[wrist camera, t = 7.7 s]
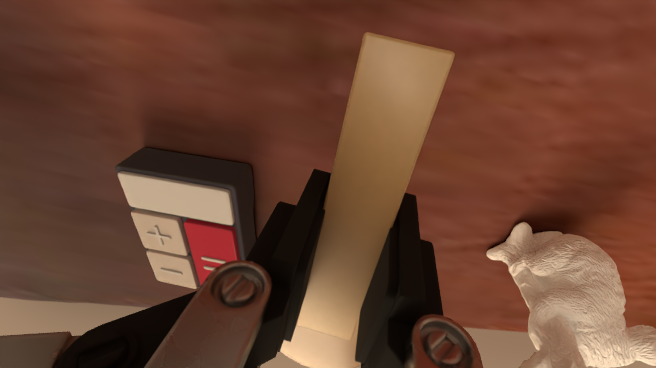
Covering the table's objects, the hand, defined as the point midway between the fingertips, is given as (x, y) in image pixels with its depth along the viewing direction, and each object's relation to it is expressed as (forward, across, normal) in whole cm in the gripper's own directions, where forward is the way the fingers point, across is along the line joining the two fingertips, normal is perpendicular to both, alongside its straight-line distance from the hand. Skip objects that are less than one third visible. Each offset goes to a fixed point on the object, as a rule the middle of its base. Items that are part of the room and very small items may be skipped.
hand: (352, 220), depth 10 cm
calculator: (+15, +14, +17) cm, 26 cm away
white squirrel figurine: (+15, -16, +9) cm, 24 cm away
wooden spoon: (+1, 0, +1) cm, 1 cm away
